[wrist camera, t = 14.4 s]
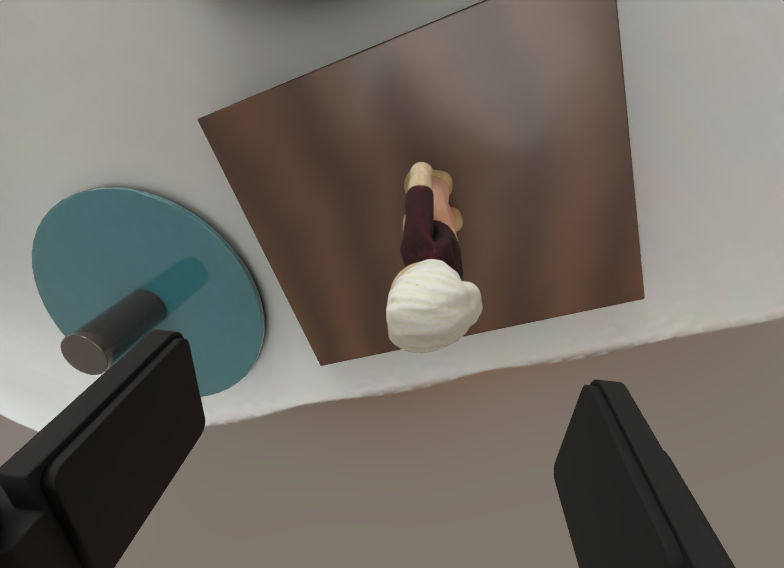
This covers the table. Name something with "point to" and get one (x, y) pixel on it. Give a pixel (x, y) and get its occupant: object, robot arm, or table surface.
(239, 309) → the lid
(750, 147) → the table surface
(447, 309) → the grandmother figurine
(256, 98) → the board
